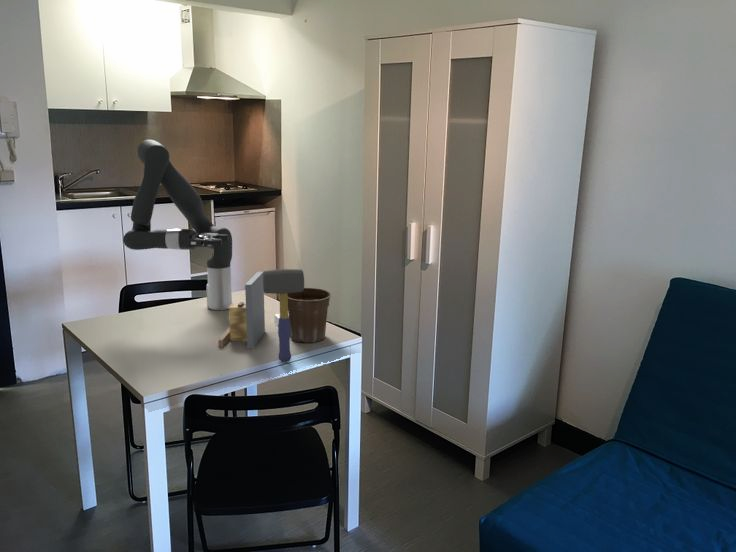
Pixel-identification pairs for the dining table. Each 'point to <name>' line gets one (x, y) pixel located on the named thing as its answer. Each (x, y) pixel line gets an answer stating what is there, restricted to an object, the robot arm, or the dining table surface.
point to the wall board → (251, 312)
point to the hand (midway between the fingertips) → (224, 240)
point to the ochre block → (238, 322)
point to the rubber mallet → (283, 302)
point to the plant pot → (308, 314)
